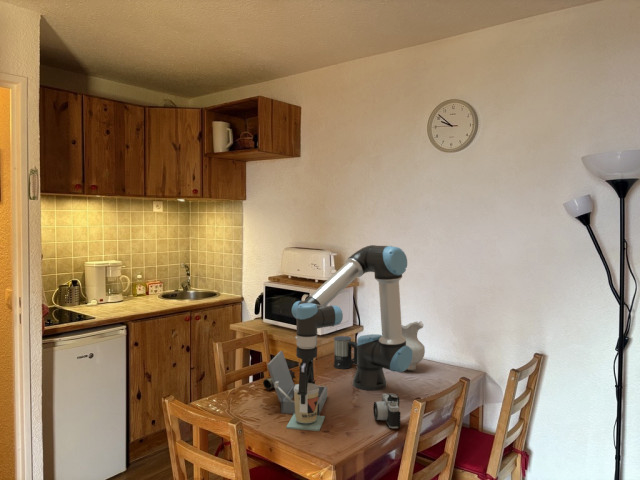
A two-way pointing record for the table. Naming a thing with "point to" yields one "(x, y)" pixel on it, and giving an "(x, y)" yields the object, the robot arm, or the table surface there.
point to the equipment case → (288, 385)
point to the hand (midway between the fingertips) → (306, 406)
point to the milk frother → (344, 352)
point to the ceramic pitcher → (414, 342)
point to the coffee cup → (312, 404)
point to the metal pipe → (269, 383)
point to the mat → (306, 424)
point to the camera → (388, 410)
